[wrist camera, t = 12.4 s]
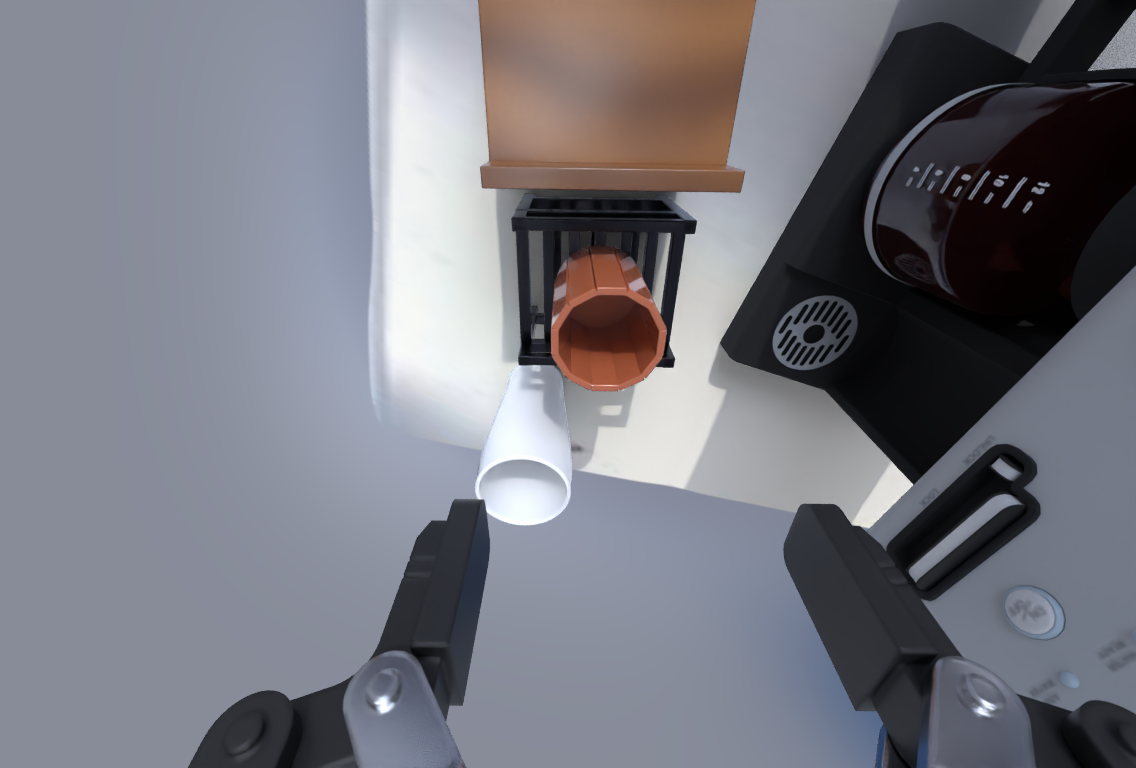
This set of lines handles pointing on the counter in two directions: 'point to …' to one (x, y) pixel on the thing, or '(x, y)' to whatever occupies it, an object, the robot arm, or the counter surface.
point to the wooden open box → (612, 93)
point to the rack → (598, 220)
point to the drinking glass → (527, 450)
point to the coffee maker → (984, 338)
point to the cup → (604, 321)
